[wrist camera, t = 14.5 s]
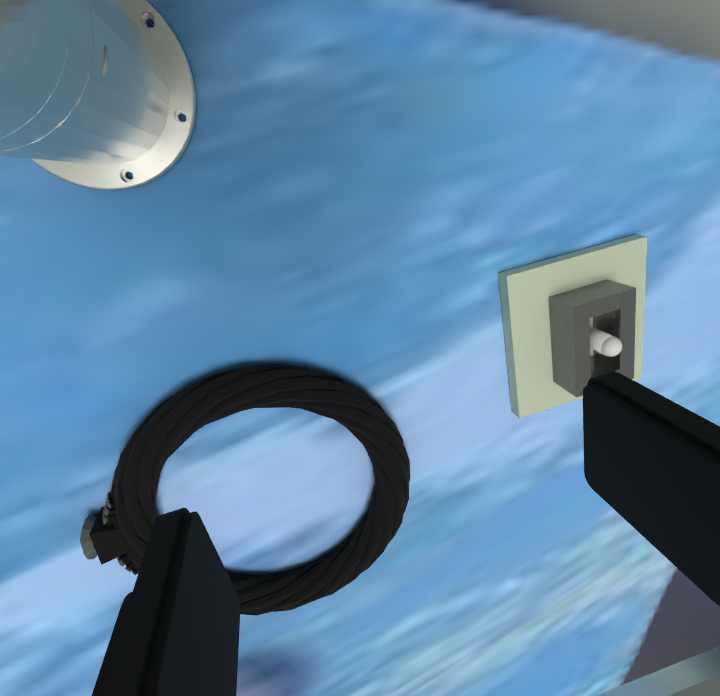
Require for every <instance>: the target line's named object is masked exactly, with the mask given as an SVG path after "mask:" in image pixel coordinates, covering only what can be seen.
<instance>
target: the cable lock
mask: <svg viewBox="0 0 720 696" xmlns="http://www.w3.org/2000/svg"><path fill="white" fill-rule="evenodd" d="M272 407H292V408H301V409H304V410H307V411H310V412H313V413H316V414H319V415H323V416H326V417H329V418H332V419H334V420H336V421H337V422H339V423H341V424H342V425H344V426H345V427H346V428H347V429H348V430H349V431H350V432H351V433H352V434H353V435H354V436H355V437H356V438H357V439H358V440H359V441H360V442H361V443H362V444H363V445H364V447H365V449H366V451H367V453H368V455H369V457H370V459H371V462H372V465H373V470H374V477H375V488H374V492H373V497H372V501H371V505H370V508H369V510H368V512H367V514H366V516H365V517H364V519H363V521H362V523H361V524H360V526H359V528H358V529H357V530H356V531H355V532H354V533H353V534H352V535H351V536H350V537H349V538H348V539H347V540H346V541H345V542H344V543H343V544H342V545H341V546H340V547H339V548H338V549H337V550H335V551H333V552H331V553H329V554H328V555H326V556H324V557H322V558H321V559H319V560H317V561H315V562H314V563H312V564H310V565H308V566H305V567H301V568H297V569H294V570H290V571H286V572H282V573H278V574H273V575H267V576H255V575H238V574H228V576H229V578H230V580H231V582H232V584H233V586H234V588H235V590H236V593H237V595H238V599H239V604H240V614H245V615H260V614H264V613H268V612H277V611H286V610H292V609H295V608H297V607H300V606H302V605H305V604H307V603H310V602H312V601H315V600H317V599H319V598H322V597H325V596H328V595H331V594H333V593H335V592H336V591H338V590H339V589H341V588H342V587H344V586H345V585H347V584H348V583H350V582H352V581H353V580H354V579H356V578H357V577H358V576H359V575H360V574H361V573H362V572H363V571H365V570H367V569H368V568H369V567H370V566H371V565H372V564H373V563H374V562H375V560H376V559H377V558H378V557H379V556H380V555H381V554H382V553H383V552H384V550H385V548H386V546H387V545H388V543H389V542H390V541H391V540H392V539H393V537H394V536H395V534H396V532H397V531H398V529H399V527H400V525H401V523H402V519H403V514H404V512H405V509H406V506H407V503H408V500H409V481H410V462H409V458H408V455H407V452H406V449H405V447H404V445H403V439H402V437H401V435H400V433H399V431H398V429H397V427H396V425H395V423H394V422H393V421H392V420H391V419H390V418H389V417H388V416H387V415H386V414H385V412H384V411H383V409H382V408H381V406H380V405H379V404H378V403H377V402H376V401H375V400H373V399H372V398H371V397H370V396H369V395H368V394H366V393H365V392H364V391H363V390H360V389H358V388H355V387H354V386H352V385H350V384H349V383H347V382H345V381H344V380H342V379H340V378H339V377H336V376H332V375H328V374H325V373H321V372H318V371H314V370H310V369H308V368H301V367H294V366H287V365H281V364H274V365H263V366H252V367H244V368H240V369H236V370H232V371H228V372H224V373H219V374H215V375H213V376H210V377H208V378H206V379H204V380H202V381H200V382H198V383H196V384H194V385H192V386H190V387H187V388H186V389H184V390H183V391H181V392H179V393H178V394H176V395H175V396H173V397H172V398H170V399H169V400H167V401H165V402H164V403H162V404H161V405H159V406H158V407H157V408H156V409H155V410H154V411H153V412H152V413H151V415H150V416H149V417H148V418H147V419H146V420H145V421H144V422H143V423H142V425H141V426H140V427H139V428H138V429H137V430H136V431H135V432H134V434H133V436H132V437H131V439H130V440H129V442H128V444H127V445H126V447H125V448H124V450H123V452H122V453H121V455H120V459H119V463H118V465H117V468H116V470H115V474H114V479H113V484H112V489H111V491H110V492H109V493H108V495H107V496H108V497H107V502H106V504H105V506H104V507H102V508H101V511H100V513H99V515H98V517H97V516H94V515H89V516H88V517H87V518H86V520H85V522H84V525H83V528H82V532H81V538H80V541H81V545H82V549H83V553H84V555H85V556H86V558H87V559H95V557H96V556H97V555H98V557H99V560H100V562H101V565H102V564H104V563H106V562H108V561H110V560H112V559H115V558H117V557H118V558H117V559H118V562H119V564H120V565H121V566H124V564H125V565H126V568H125V569H126V570H128V571H129V572H131V570H132V572H133V574H135V575H136V574H138V573H139V570H140V567H141V564H142V561H143V558H144V554H145V551H146V548H147V545H148V542H149V538H150V535H151V532H152V529H153V526H154V522H155V520H156V518H157V516H156V505H155V498H156V493H157V487H158V482H159V476H160V473H161V470H162V468H163V465H164V464H165V462H166V460H167V458H168V457H169V456H170V455H172V454H173V453H174V452H175V451H176V450H177V449H178V448H179V447H180V446H181V445H182V444H183V443H184V442H185V441H186V440H187V439H188V438H189V437H190V436H191V435H192V434H193V433H194V432H195V431H197V430H198V429H200V428H201V427H203V426H204V425H206V424H209V423H211V422H214V421H216V420H219V419H221V418H224V417H227V416H229V415H232V414H234V413H237V412H239V411H243V410H247V409H252V408H272Z"/></svg>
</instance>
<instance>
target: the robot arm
mask: <svg viewBox="0 0 720 696" xmlns="http://www.w3.org/2000/svg"><path fill="white" fill-rule="evenodd" d="M149 20H152V21H154V24H155V25H154V27H152V28H149V27H148V26H147V22H148V21H149ZM181 114H184V115H186V121H184V122H181V121H180V120H179V116H180V115H181ZM195 116H196V92H195V85H194V81H193V77H192V72H191V68H190V66H189V63H188V61H187V58H186V56H185V54H184V51H183V49H182V47H181V45H180V44H179V42H178V40H177V38H176V36H175V34H174V33H173V32H172V30H171V29H170V27H169V26H168V25H167V23H166V22H165V20H164V19H163V18H162V16H161V15H160V14H159V13H158V12H157V11H156V10H155V9H154V8H153V7H152V6H151V5H150V4H149V3H148V2H147V1H146V0H0V155H1V156H11V157H21V158H29V159H30V160H31V161H33V162H34V163H36V164H37V165H39V166H40V167H42V168H43V169H45V170H46V171H48V172H49V173H51V174H53V175H55V176H57V177H59V178H61V179H64V180H66V181H68V182H70V183H73V184H77V185H81V186H84V187H88V188H93V189H103V190H123V189H128V188H134V187H139V186H142V185H144V184H146V183H149V182H151V181H154V180H156V179H157V178H159V177H160V176H162V175H163V174H164V173H166V172H167V171H169V170H170V169H171V168H172V166H173V165H174V164H175V163H176V162H177V161H178V160H179V159H180V158H181V156H182V154H183V152H184V151H185V149H186V147H187V146H188V144H189V141H190V138H191V135H192V132H193V129H194V124H195ZM128 172H131V173H132V174H133V179H131V180H130V179H128V178H127V173H128ZM583 430H584V473H585V478H586V480H587V482H588V484H589V485H590V487H591V488H592V489H593V490H594V491H595V492H596V493H597V494H598V495H599V496H600V497H602V498H603V499H604V500H605V501H606V502H607V503H608V504H609V505H610V506H611V507H612V508H613V509H614V510H616V511H617V512H618V513H619V514H620V515H621V516H622V517H623V518H624V519H625V520H626V521H627V522H628V523H630V524H631V525H632V526H633V527H634V528H635V529H636V530H637V531H638V532H639V533H640V534H641V535H642V536H644V537H645V538H646V539H647V540H648V541H649V542H650V543H651V544H652V545H653V546H654V547H655V548H656V549H658V550H659V551H660V552H661V553H662V554H663V555H664V556H665V557H666V558H667V559H668V560H669V561H670V562H672V563H673V564H674V565H675V566H676V567H677V568H678V569H679V570H680V571H681V572H683V574H685V575H686V576H687V577H688V578H689V579H690V580H691V581H692V582H693V583H694V584H695V585H696V586H697V587H698V588H700V589H701V590H702V591H703V592H704V593H705V594H706V595H707V596H708V597H709V598H711V600H713V601H714V602H715V603H716V604H717V605H719V606H720V427H719V426H717V425H716V424H714V423H712V422H710V421H708V420H706V419H704V418H703V417H701V416H699V415H697V414H695V413H693V412H691V411H689V410H688V409H686V408H684V407H682V406H680V405H678V404H676V403H674V402H673V401H671V400H669V399H667V398H665V397H663V396H661V395H660V394H658V393H656V392H654V391H652V390H650V389H648V388H646V387H645V386H643V385H641V384H639V383H637V382H635V381H633V380H632V379H630V378H628V377H626V376H624V375H622V374H620V373H618V372H615V371H612V372H608V373H605V374H602V375H599V376H596V377H592V378H590V379H589V380H588V382H587V386H585V387H584V389H583ZM239 625H240V604H239V599H238V595H237V593H236V590H235V588H234V586H233V584H232V582H231V580H230V578H229V576H228V574H227V572H226V570H225V568H224V566H223V563H222V561H221V559H220V557H219V555H218V553H217V551H216V549H215V547H214V545H213V543H212V541H211V539H210V536H209V534H208V532H207V530H206V528H205V526H204V524H203V522H202V520H201V518H200V516H199V514H198V513H197V512H191V513H190V512H189V511H188V510H187V509H186V508H182V509H179V510H175V511H172V512H169V513H166V514H163V515H160V516H158V517H157V518H156V520H155V522H154V526H153V529H152V532H151V535H150V538H149V542H148V545H147V548H146V551H145V554H144V558H143V561H142V564H141V567H140V570H139V574H138V577H137V580H136V583H135V586H134V590H133V592H130V593H129V594H128V595H127V596H126V597H125V599H124V601H123V603H122V605H121V608H120V611H119V614H118V617H117V620H116V624H115V627H114V630H113V633H112V636H111V639H110V642H109V645H108V648H107V651H106V654H105V657H104V660H103V663H102V666H101V669H100V672H99V675H98V678H97V681H96V684H95V687H94V690H93V693H92V696H236V687H237V667H238V646H239ZM597 696H720V646H719V647H716V648H714V649H711V650H709V651H706V652H704V653H701V654H699V655H696V656H694V657H692V658H689V659H686V660H684V661H681V662H679V663H677V664H674V665H671V666H669V667H666V668H664V669H662V670H659V671H657V672H654V673H652V674H649V675H647V676H644V677H642V678H640V679H637V680H634V681H632V682H629V683H627V684H624V685H622V686H620V687H617V688H615V689H612V690H610V691H607V692H605V693H602V694H600V695H597Z"/></svg>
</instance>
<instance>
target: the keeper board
mask: <svg viewBox="0 0 720 696" xmlns="http://www.w3.org/2000/svg"><path fill="white" fill-rule="evenodd" d="M646 255H647V236H641V235H631V236H628V237H624V238H621V239H617V240H614V241H610V242H607V243H603V244H599V245H596V246H592V247H589V248H585V249H582V250H578V251H575V252H571V253H568V254H564V255H560V256H557V257H553V258H550V259H546V260H543V261H539V262H536V263H532V264H529V265H525V266H521V267H518V268H514V269H511V270H507V271H504V272H500V273H498V276H499V286H500V296H501V306H502V317H503V327H504V337H505V348H506V358H507V368H508V379H509V389H510V399H511V410H512V412H513V413H514V414H515V415H516V416H517V417H518V418H522V417H525V416H528V415H531V414H534V413H538V412H541V411H544V410H547V409H550V408H553V407H556V406H559V405H562V404H565V403H568V402H572V401H575V400H578V399H581V398H583V396H580V397H577V398H576V397H575V396H573V395H572V394H571V393H569V392H568V391H566V390H565V389H563V388H562V387H560V386H559V385H557V384H556V383H555V382H553V368H552V351H551V334H550V317H549V300H548V297H549V296H553V295H556V294H559V293H563V292H566V291H569V290H573V289H576V288H579V287H583V286H586V285H589V284H593V283H596V282H599V281H603V280H606V279H608V280H611V281H615V282H618V283H622V284H625V285H629V286H632V287H636V319H635V360H634V379H632V380H633V381H636V380H640V379H642V356H643V331H644V305H645V280H646ZM593 350H595V351H597V352H599V353H601V354H603V355H605V356H609V357H612V356H616V355H618V354H619V353H620V352H621V350H622V343H621V341H620V340H619V339H618V338H616V337H614V336H612V335H610V334H607V333H605V332H603V331H600V330H598V329H596V328H594V327H593V317H592V318H590V356H593V355H594V352H593Z"/></svg>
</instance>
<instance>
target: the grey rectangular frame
mask: <svg viewBox="0 0 720 696" xmlns="http://www.w3.org/2000/svg"><path fill="white" fill-rule="evenodd" d="M548 300H549V317H550V334H551V351H552V368H553V382H555V383H556V384H557V385H559V386H560V387H562V388H563V389H565V390H566V391H568V392H569V393H571V394H572V395H573V396H575V397H576V398H577V397H580V396H583V389H584V387H585V386H587V382H588V380H589V379H590V378H592V377H596V376H599V375H602V374H605V373H608V372H612V371H615V372H618V373H620V374H622V375H624V376H626V377H628V378H630V379H634V360H635V319H636V287H632V286H629V285H625V284H622V283H618V282H615V281H611V280H608V279H606V280H603V281H599V282H596V283H593V284H589V285H586V286H583V287H579V288H576V289H573V290H569V291H566V292H563V293H559V294H556V295H553V296H549V297H548ZM592 317H593V327H594V328H596V329H598V330H600V331H603V332H605V333H607V334H610V335H612V336H614V337H616V338H618V339H619V340H620V341H621V343H622V350H621V352H620V353H619V354H618V355H616V356H612V357H609V356H605V355H603V354H601V353H599V352H597V351H595V350H593V352H594V355H593V356H590V318H592Z"/></svg>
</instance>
